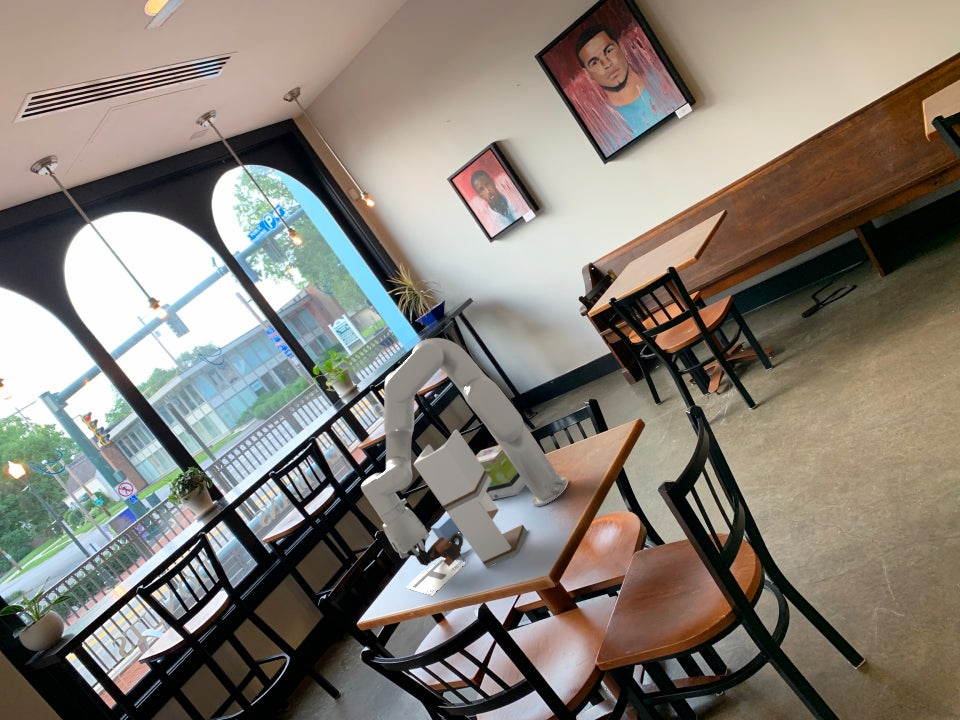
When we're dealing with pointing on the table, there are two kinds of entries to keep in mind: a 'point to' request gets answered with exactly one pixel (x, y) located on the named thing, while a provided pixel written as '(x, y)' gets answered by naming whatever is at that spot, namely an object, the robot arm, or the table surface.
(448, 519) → the slate blue cube
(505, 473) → the tea box
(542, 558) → the table surface
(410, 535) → the robot arm
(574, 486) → the table surface
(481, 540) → the notched white pillar
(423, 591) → the letter mat
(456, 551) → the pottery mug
